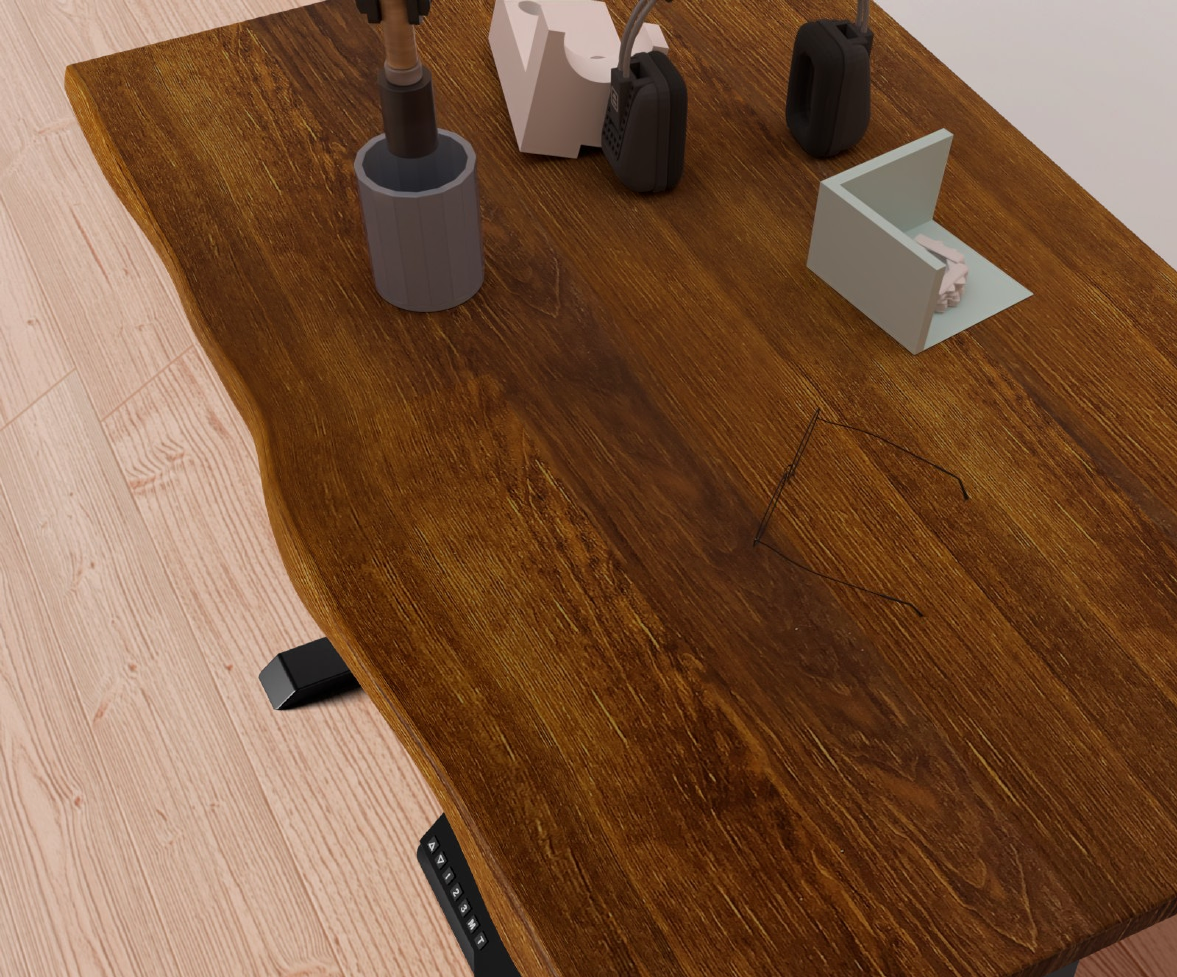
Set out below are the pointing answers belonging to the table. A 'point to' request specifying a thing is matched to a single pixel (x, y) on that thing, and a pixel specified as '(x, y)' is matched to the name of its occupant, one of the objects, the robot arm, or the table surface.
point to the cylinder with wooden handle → (405, 88)
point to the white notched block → (559, 69)
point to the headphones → (660, 100)
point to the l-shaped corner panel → (904, 248)
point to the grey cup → (422, 223)
